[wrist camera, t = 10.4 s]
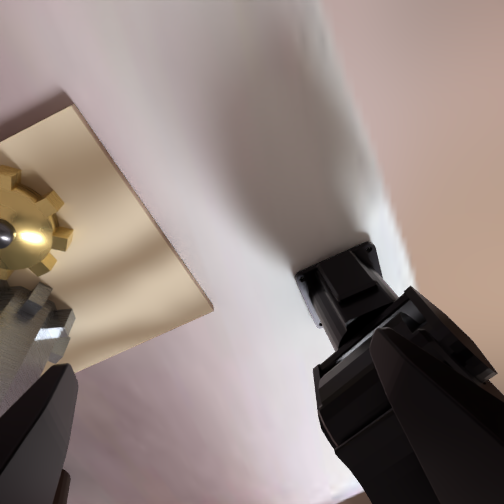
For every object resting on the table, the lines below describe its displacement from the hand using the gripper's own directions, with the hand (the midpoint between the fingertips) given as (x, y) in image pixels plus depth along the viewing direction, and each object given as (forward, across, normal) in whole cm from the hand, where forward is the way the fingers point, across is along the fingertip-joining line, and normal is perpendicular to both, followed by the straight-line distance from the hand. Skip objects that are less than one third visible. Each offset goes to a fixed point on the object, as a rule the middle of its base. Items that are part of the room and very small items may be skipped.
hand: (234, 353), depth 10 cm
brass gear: (+12, +12, +1) cm, 17 cm away
